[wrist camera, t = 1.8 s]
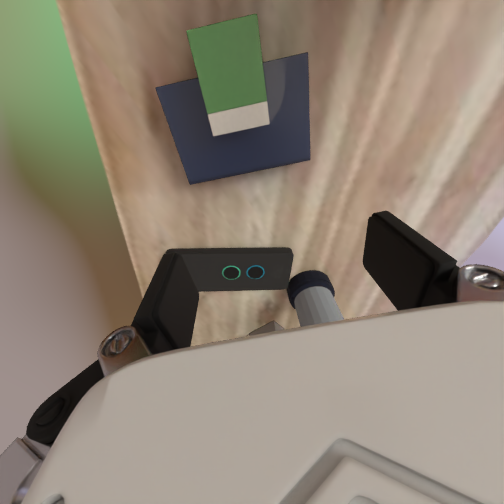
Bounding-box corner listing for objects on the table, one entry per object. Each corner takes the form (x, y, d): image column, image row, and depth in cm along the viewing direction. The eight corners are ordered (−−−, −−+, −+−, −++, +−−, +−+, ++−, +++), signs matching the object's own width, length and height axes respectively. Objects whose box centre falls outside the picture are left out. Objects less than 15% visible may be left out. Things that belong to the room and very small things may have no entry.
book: (162, 88, 23) (155, 87, 21) (301, 56, 22) (308, 52, 20) (193, 178, 28) (189, 184, 26) (304, 154, 27) (310, 160, 25)
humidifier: (326, 299, 44) (406, 477, 23) (286, 303, 44) (330, 485, 23) (333, 268, 39) (440, 457, 19) (287, 272, 39) (344, 467, 19)
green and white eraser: (192, 38, 19) (185, 30, 16) (254, 23, 18) (257, 13, 16) (215, 132, 23) (213, 136, 21) (266, 121, 23) (269, 124, 20)
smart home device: (287, 290, 39) (172, 293, 38) (285, 283, 40) (175, 286, 39) (294, 252, 34) (162, 254, 33) (292, 246, 35) (165, 248, 34)
